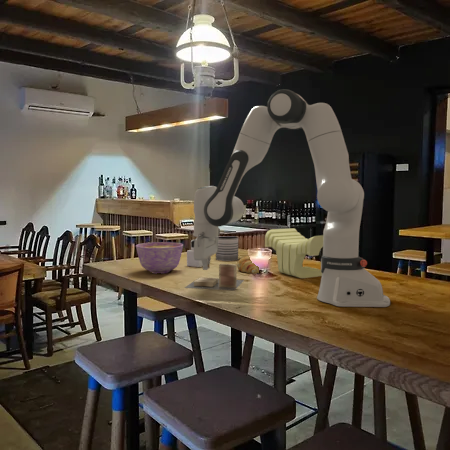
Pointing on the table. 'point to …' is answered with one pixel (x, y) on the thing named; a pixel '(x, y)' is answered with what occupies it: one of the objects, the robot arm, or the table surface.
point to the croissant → (247, 266)
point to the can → (227, 248)
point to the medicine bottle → (191, 257)
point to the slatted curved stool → (294, 251)
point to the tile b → (227, 275)
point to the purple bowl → (159, 256)
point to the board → (215, 286)
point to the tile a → (206, 282)
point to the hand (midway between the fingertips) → (206, 269)
